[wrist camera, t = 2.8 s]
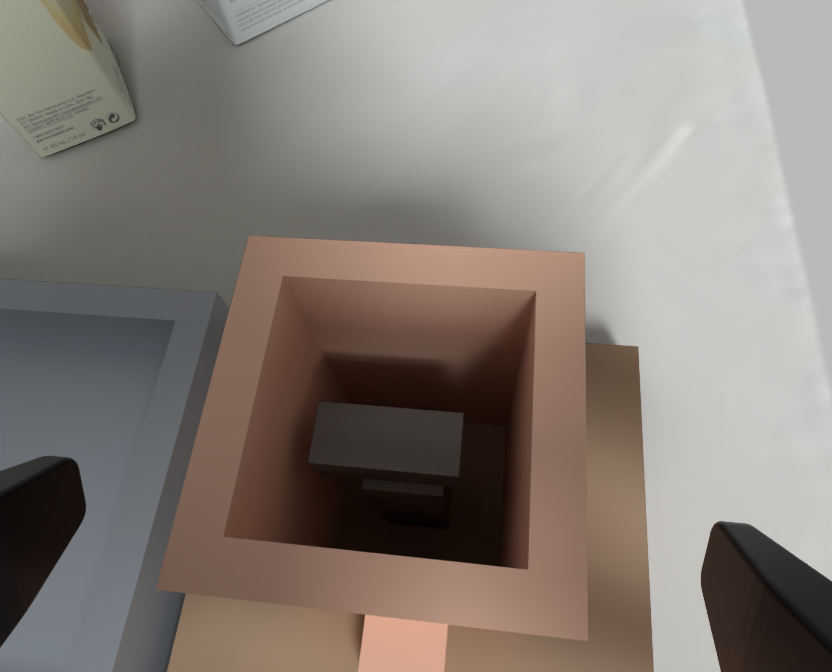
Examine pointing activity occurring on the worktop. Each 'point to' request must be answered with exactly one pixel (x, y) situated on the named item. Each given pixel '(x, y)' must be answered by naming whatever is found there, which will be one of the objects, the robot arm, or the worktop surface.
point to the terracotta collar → (401, 388)
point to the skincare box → (58, 75)
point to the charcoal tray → (105, 457)
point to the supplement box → (253, 15)
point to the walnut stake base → (453, 537)
